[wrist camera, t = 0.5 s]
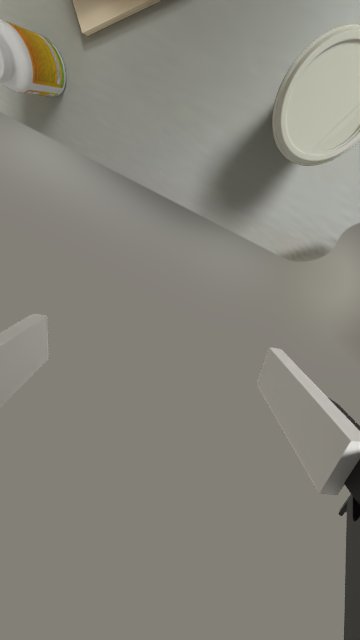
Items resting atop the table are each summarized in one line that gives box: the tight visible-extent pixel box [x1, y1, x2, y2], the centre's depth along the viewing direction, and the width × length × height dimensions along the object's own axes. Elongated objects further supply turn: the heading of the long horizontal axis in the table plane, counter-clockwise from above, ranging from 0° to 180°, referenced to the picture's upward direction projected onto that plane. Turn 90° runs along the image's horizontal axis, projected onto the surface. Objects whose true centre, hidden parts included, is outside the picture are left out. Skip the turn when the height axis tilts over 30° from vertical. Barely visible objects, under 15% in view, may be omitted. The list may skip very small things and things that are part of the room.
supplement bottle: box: [0, 19, 66, 96], centre depth 26 cm, size 5×5×10 cm
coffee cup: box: [272, 24, 360, 166], centre depth 22 cm, size 9×8×12 cm
